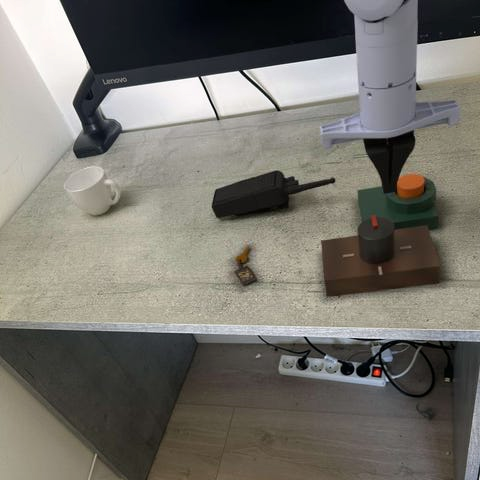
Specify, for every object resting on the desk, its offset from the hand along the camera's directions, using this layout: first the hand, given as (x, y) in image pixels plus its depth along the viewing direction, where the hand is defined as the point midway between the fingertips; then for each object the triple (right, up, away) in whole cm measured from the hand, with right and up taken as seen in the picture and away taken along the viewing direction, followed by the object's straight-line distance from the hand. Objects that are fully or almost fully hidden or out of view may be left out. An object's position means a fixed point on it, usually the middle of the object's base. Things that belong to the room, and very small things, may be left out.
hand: (388, 188), depth 60 cm
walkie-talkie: (-12, +3, +21) cm, 24 cm away
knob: (0, -7, +4) cm, 8 cm away
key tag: (-17, -8, +13) cm, 23 cm away
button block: (+5, -1, +12) cm, 13 cm away
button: (+6, +2, +9) cm, 11 cm away
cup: (-44, +5, +33) cm, 55 cm away
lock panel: (0, -9, +6) cm, 11 cm away
